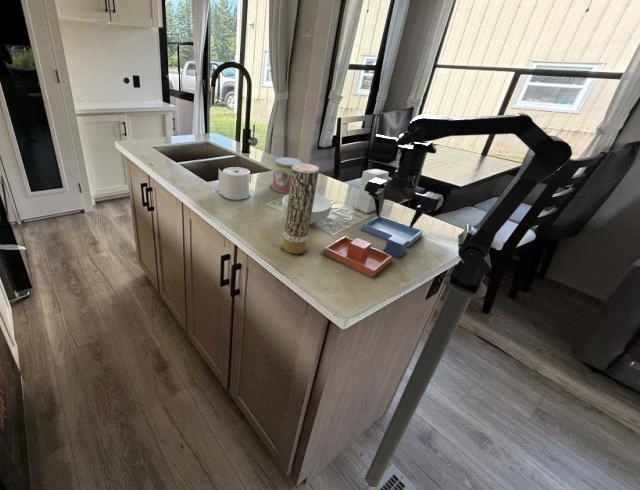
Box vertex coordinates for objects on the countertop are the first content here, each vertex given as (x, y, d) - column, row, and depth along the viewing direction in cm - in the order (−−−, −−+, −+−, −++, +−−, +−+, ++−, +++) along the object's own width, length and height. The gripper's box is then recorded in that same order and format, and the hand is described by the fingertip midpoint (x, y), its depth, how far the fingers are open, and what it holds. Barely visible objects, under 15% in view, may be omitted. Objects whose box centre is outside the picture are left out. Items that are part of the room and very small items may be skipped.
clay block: (368, 256, 94) (371, 243, 92) (360, 262, 91) (364, 248, 89) (354, 250, 96) (357, 237, 94) (346, 255, 94) (349, 242, 91)
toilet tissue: (250, 199, 128) (252, 175, 123) (220, 200, 127) (220, 175, 122) (246, 190, 137) (247, 166, 133) (218, 190, 136) (218, 167, 131)
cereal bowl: (286, 206, 124) (288, 188, 121) (330, 214, 120) (334, 196, 116) (275, 225, 110) (277, 205, 107) (325, 234, 106) (329, 215, 102)
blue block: (404, 252, 98) (408, 240, 96) (398, 257, 95) (402, 245, 93) (390, 246, 100) (394, 234, 98) (383, 251, 98) (387, 239, 95)
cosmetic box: (367, 213, 121) (376, 175, 114) (353, 208, 125) (362, 170, 118) (380, 209, 126) (390, 171, 118) (366, 203, 130) (376, 167, 123)
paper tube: (291, 240, 101) (302, 161, 89) (309, 249, 97) (323, 167, 85) (277, 248, 97) (287, 166, 85) (296, 257, 93) (309, 172, 81)
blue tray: (421, 236, 107) (423, 230, 106) (407, 247, 100) (409, 241, 99) (377, 220, 117) (378, 215, 116) (362, 229, 110) (363, 224, 109)
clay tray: (390, 262, 93) (392, 255, 92) (372, 277, 86) (374, 270, 85) (343, 241, 102) (344, 235, 101) (323, 253, 95) (324, 247, 94)
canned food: (267, 188, 140) (270, 161, 134) (279, 181, 148) (281, 155, 142) (291, 195, 135) (295, 166, 129) (302, 187, 143) (306, 160, 137)
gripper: (361, 165, 84) (349, 219, 92) (438, 183, 73) (418, 244, 80) (379, 157, 91) (367, 208, 99) (453, 173, 80) (433, 230, 88)
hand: (394, 221), depth 91 cm, fingers open, 9 cm apart
